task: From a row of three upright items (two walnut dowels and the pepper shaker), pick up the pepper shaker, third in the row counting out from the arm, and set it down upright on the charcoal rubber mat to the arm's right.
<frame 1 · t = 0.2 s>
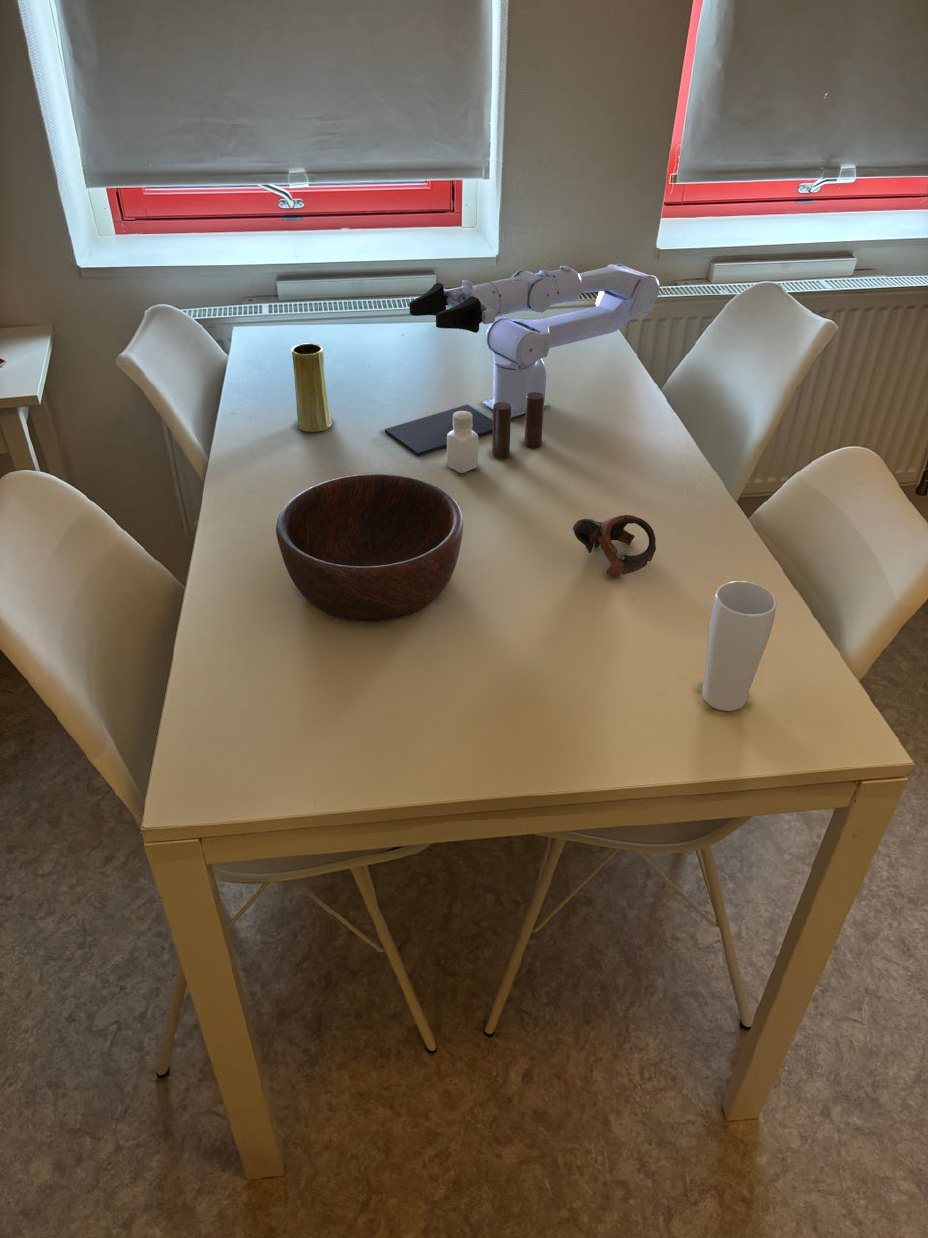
hand: (423, 314, 157), 22 cm above the table, tool horizontal, fingers open, 7 cm apart
mat: (443, 430, 171), on the table
wooden bowl: (374, 581, 135), on the table
walnut dowel 2: (500, 454, 164), on the table
pepper shaker: (462, 468, 161), on the table
vase: (314, 426, 173), on the table
brown curled ring figurine: (611, 560, 139), on the table
walnut dowel 1: (532, 443, 168), on the table
drinking glass: (723, 699, 115), on the table
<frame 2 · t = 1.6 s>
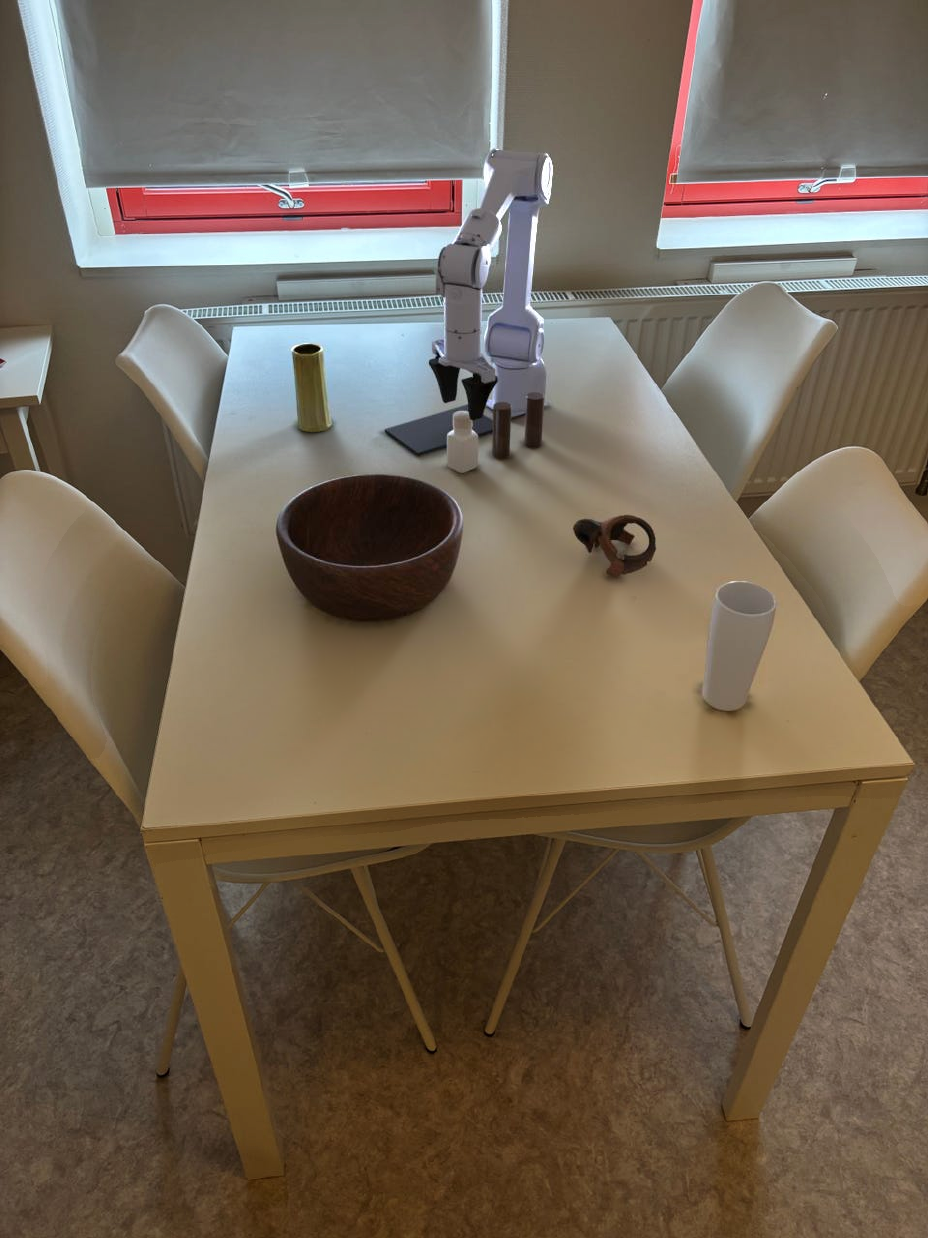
hand: (462, 409, 154), 10 cm above the table, tool pointing down, fingers open, 7 cm apart
nothing on the table moved.
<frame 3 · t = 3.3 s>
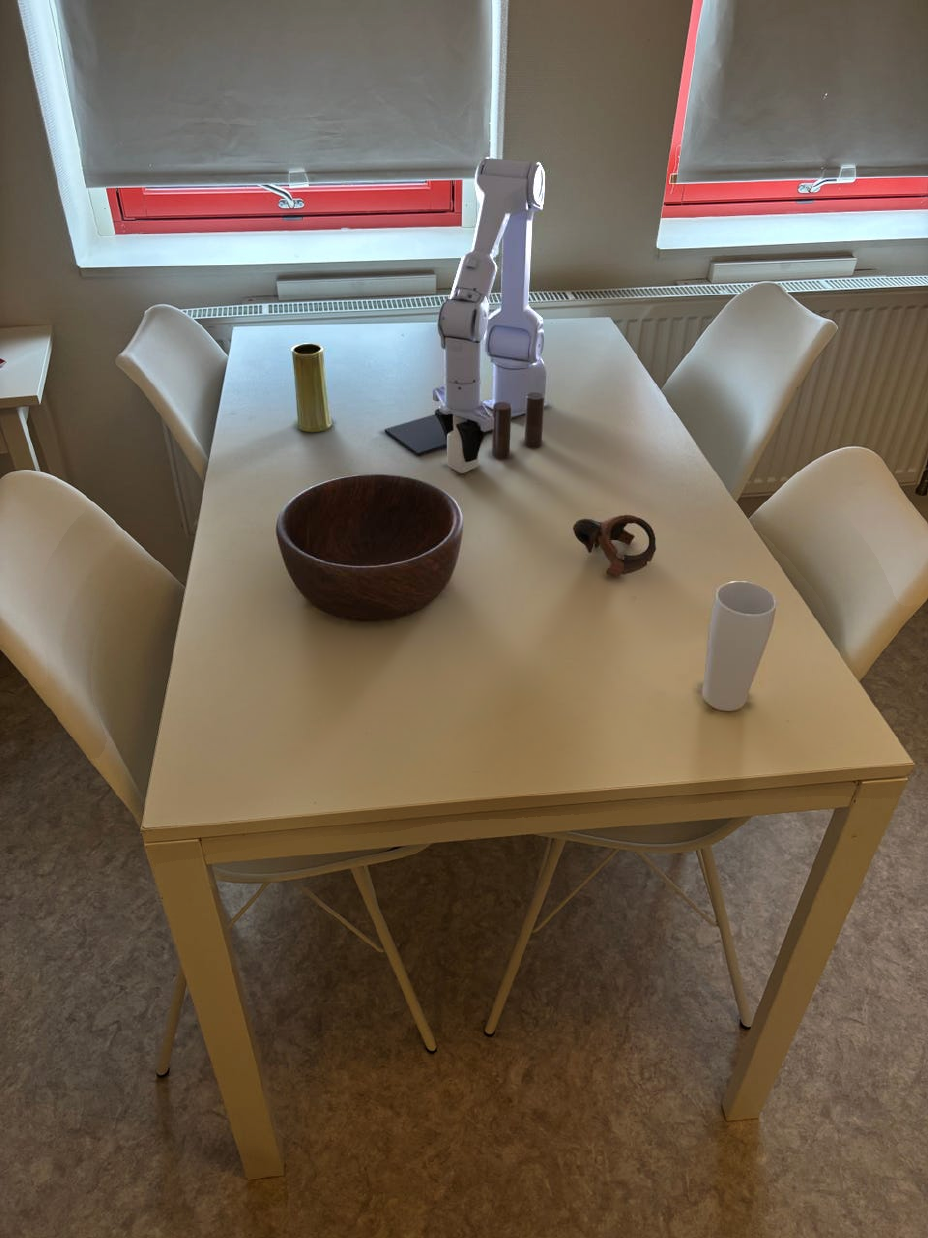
hand: (462, 454, 159), 2 cm above the table, tool pointing down, fingers closed on pepper shaker, 4 cm apart
pepper shaker: (462, 468, 161), on the table, touching gripper
everything else where it was.
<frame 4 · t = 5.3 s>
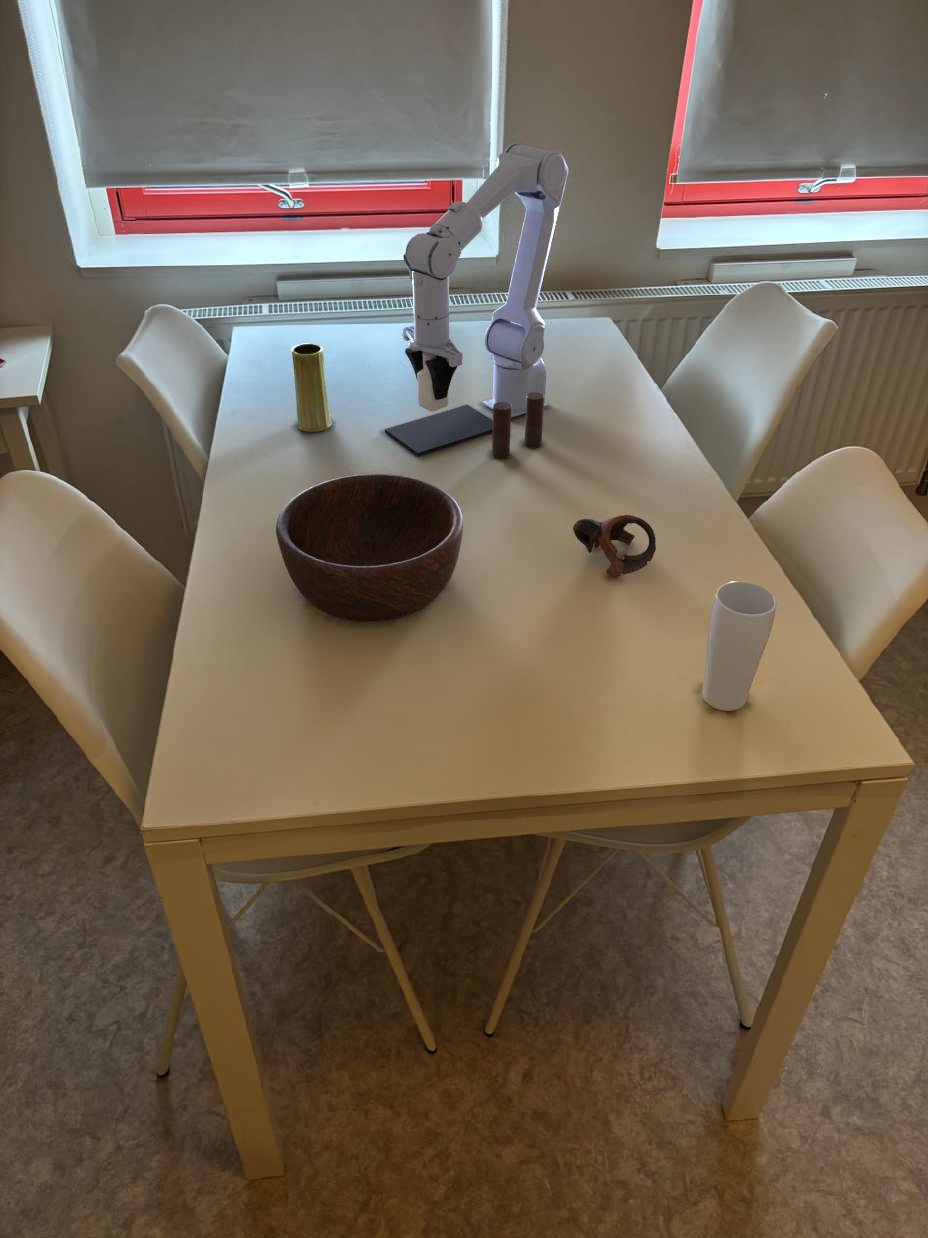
hand: (432, 393, 162), 9 cm above the table, tool pointing down, fingers closed on pepper shaker, 4 cm apart
pepper shaker: (433, 407, 163), point 7 cm above the table, touching gripper
everything else where it was.
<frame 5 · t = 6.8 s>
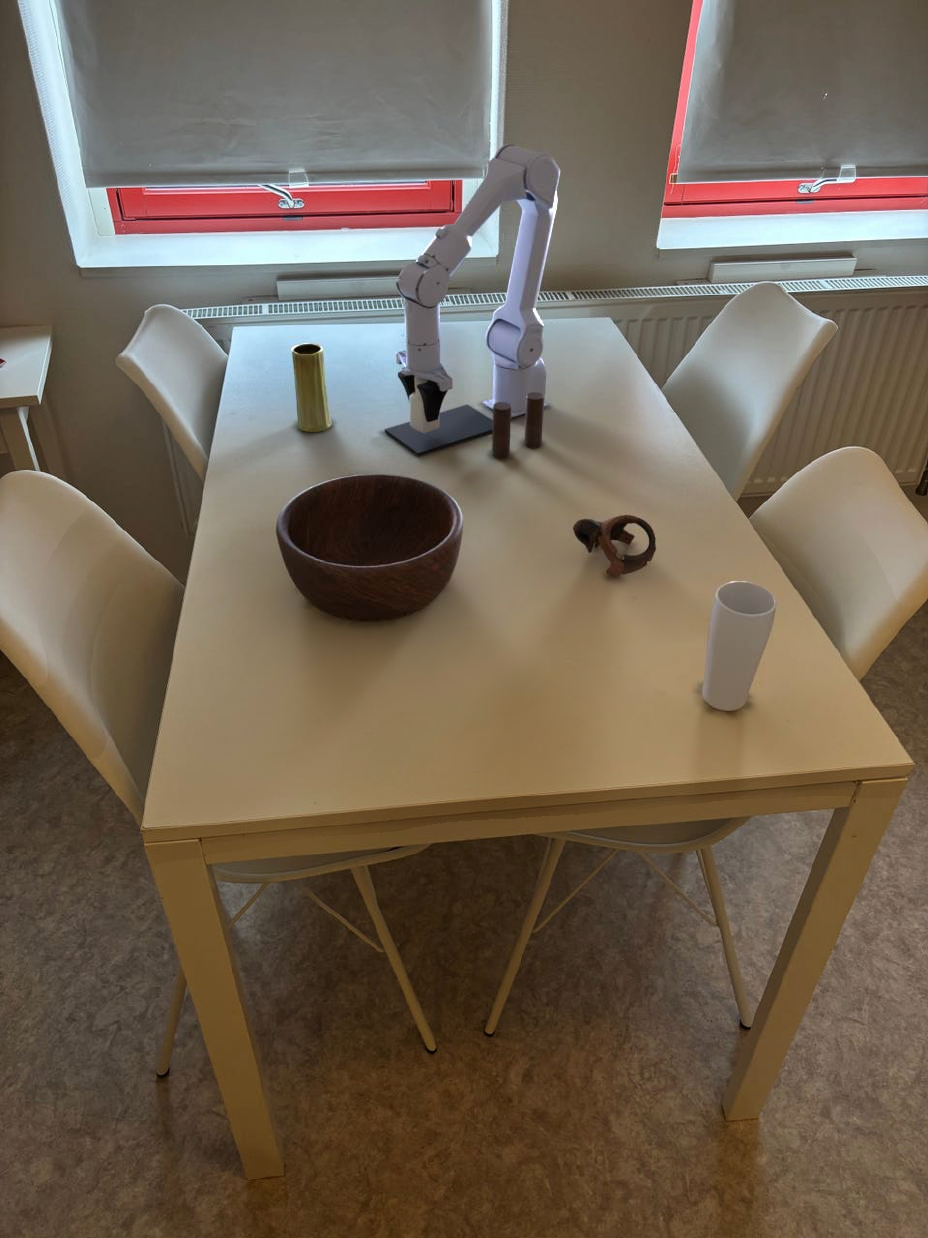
hand: (424, 415, 167), 4 cm above the table, tool pointing down, fingers closed on pepper shaker, 4 cm apart
pepper shaker: (424, 428, 169), point 1 cm above the table, touching gripper
everything else where it was.
when the fingers open (3 cm above the table, at t = 7.5 s): pepper shaker stays where it is, resting on mat.
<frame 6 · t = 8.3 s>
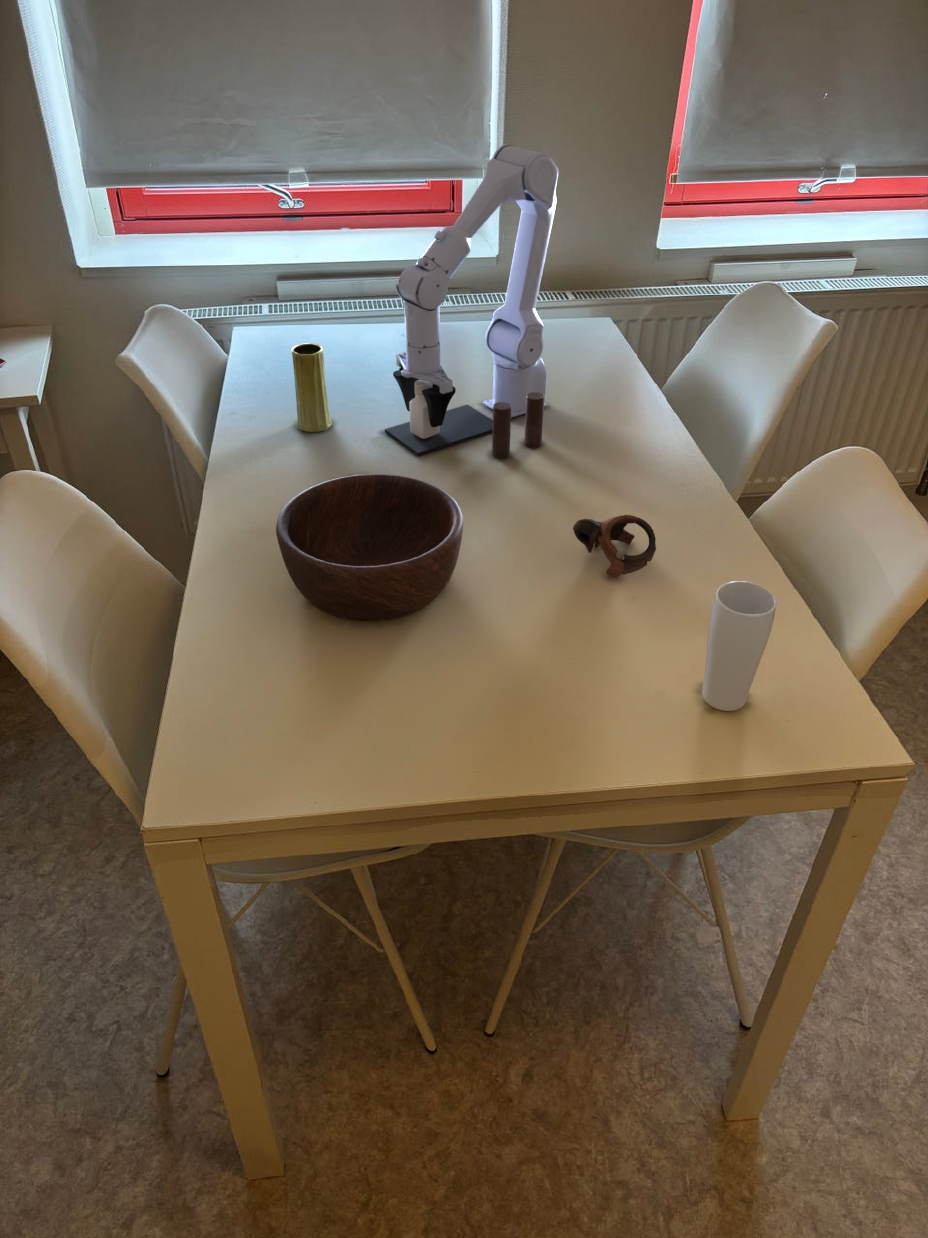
hand: (424, 417, 167), 4 cm above the table, tool pointing down, fingers open, 7 cm apart
pepper shaker: (425, 434, 169), resting on mat
everything else where it was.
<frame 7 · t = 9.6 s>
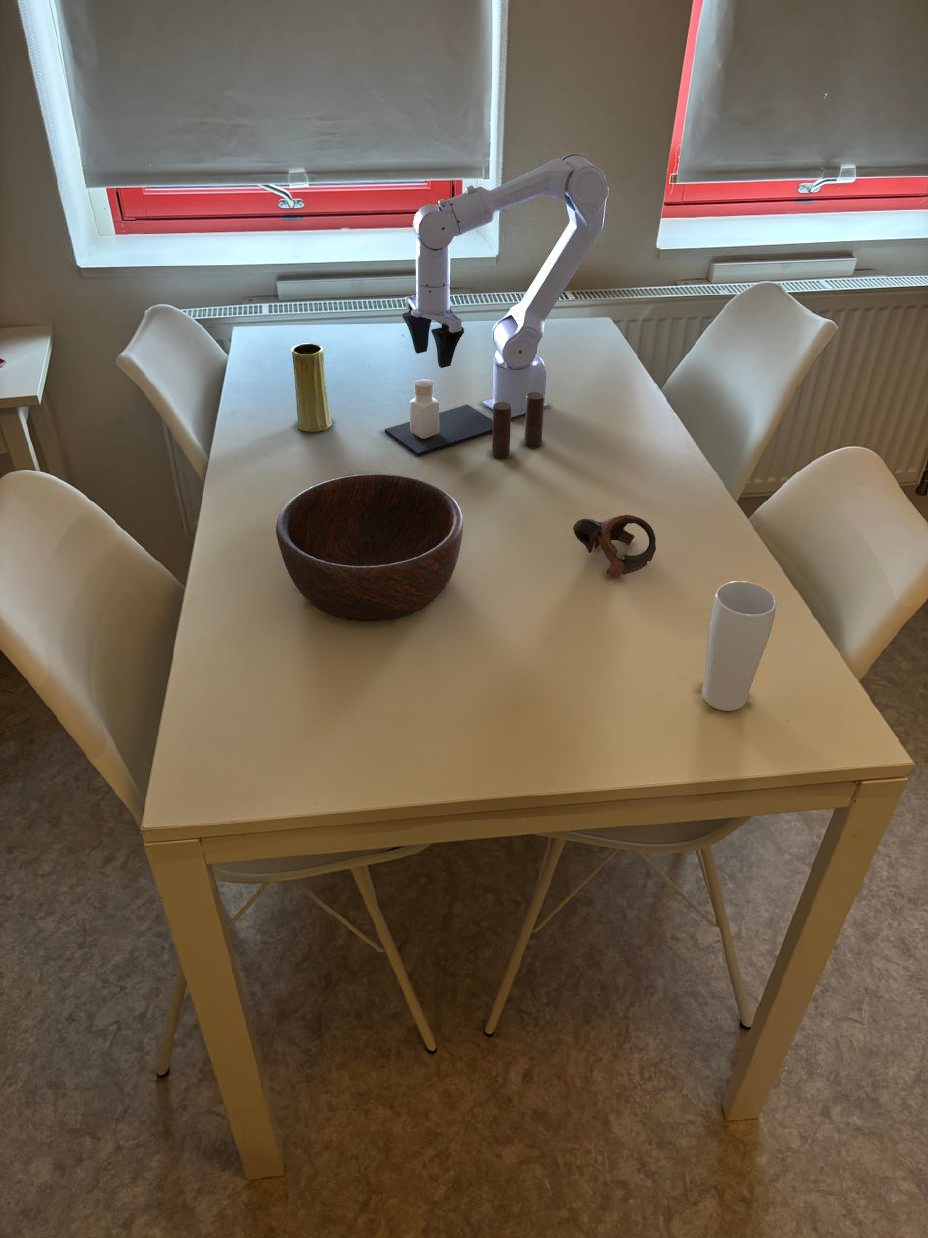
hand: (432, 359, 171), 10 cm above the table, tool pointing down, fingers open, 7 cm apart
nothing on the table moved.
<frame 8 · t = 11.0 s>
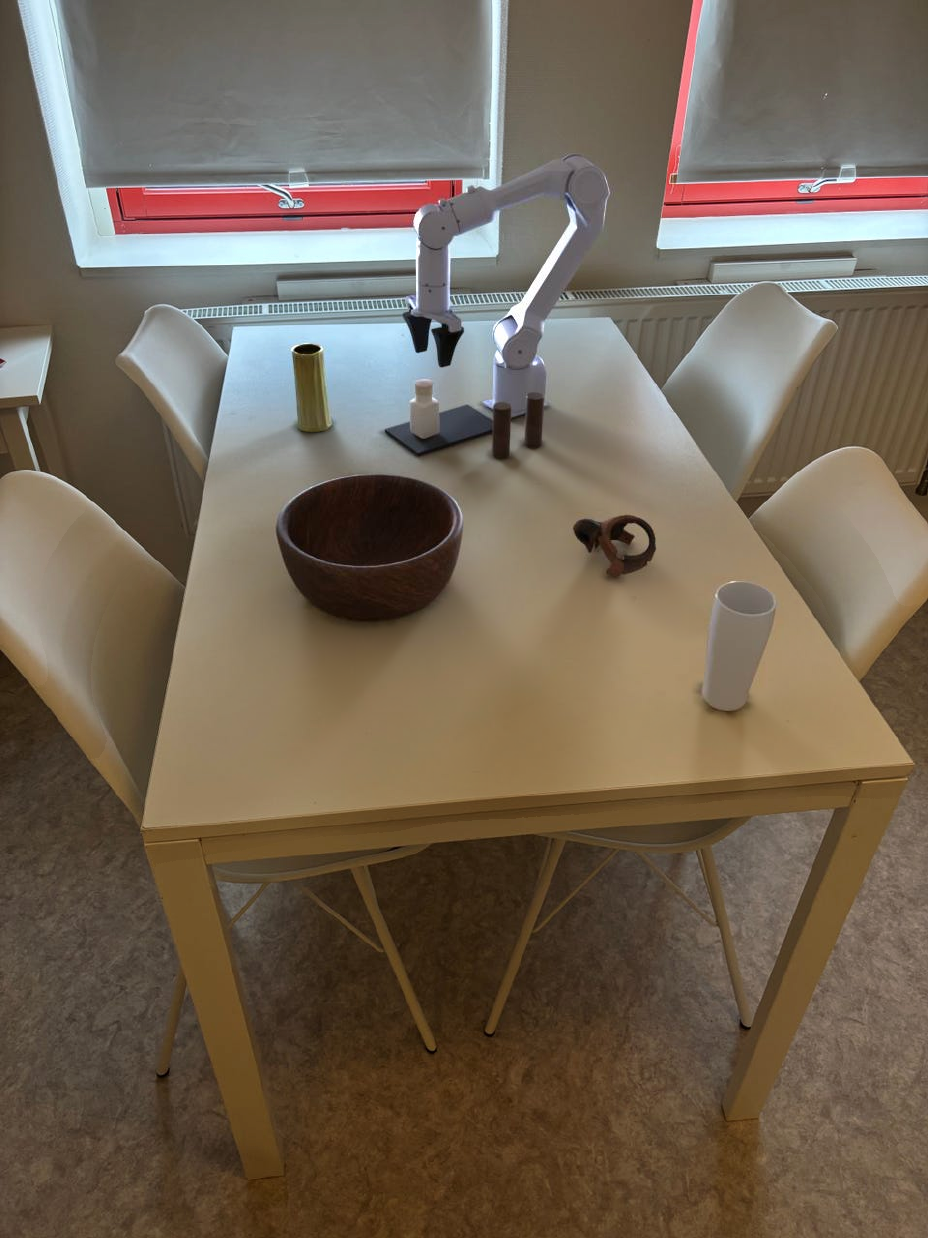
hand: (432, 358, 171), 10 cm above the table, tool pointing down, fingers open, 7 cm apart
nothing on the table moved.
at the end: pepper shaker inside the target area (1.5 cm from its centre), resting on mat; pepper shaker tilted 0°; walnut dowel 2 moved 0.0 cm from its start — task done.
